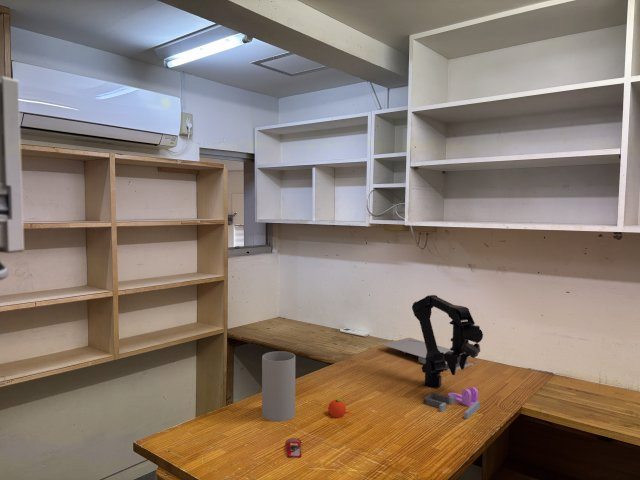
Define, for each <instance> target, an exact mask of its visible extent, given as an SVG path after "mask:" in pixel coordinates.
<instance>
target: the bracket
mask: <svg viewBox="0 0 640 480" xmlns="http://www.w3.org/2000/svg"><path fill="white" fill-rule="evenodd" d="M452 395H455V396H456V397H455V402H457V403H458V404H459V403H460V404H462V405H463V406H467V407H468V406H469V407H468V408H470V407H471V406H472V405H473V404H474V403H475V402H476V401H479V391H478V388H476V387H475V386H473V387H470V388H464V389H463V390H462V392H461V394H460V393H457V392H449V393H447V396H448V397H451V396H452Z"/></svg>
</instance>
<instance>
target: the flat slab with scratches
mask: <svg viewBox="0 0 640 480" xmlns="http://www.w3.org/2000/svg"><path fill="white" fill-rule="evenodd" d="M380 345H382V346H385V347H388V348H391V349H395V350H397V351H401V352H402V353H404V354H405V355H407V354H409V355H414V356H416V357H417V362H418V363H421V364H423V365H424V364H425V363H426V359H425V358H426V354H427V349H426V345H425V341H424V340H419V339H415V338H413V337H412V338H411V337H406V338H401V339H396V340H393V341H389V342H384V343H383V342H382V343H380ZM437 348H438V350H439V351H440V352H441V353H442V352H443V353H444V354H445V353H446V352H448V351H451V350H450V348H447V347H445V346H441V345H438V344H437ZM451 352H453V351H451ZM468 358H472V357H471V356H469V357H468ZM445 362H446V361H445ZM470 365H472V366H474V363H472V362H468V361H466V364H465V368H468V367H471V366H470ZM467 366H468V367H467ZM446 369H447V370H446ZM448 369H449V366H448V364H447V362H446V366H445V369H444V370H446V371H447V372H449V370H450V369H449V370H448ZM457 370H460V364H459V363H457V367H456V371H457Z"/></svg>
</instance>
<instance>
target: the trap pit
mask: <svg viewBox="0 0 640 480" xmlns="http://www.w3.org/2000/svg"><path fill="white" fill-rule="evenodd" d="M449 398H450V397H448V395H444V394H440V393H435V392H431V393H429V394H428V395H427V396H425V397H423V405H426V406H429V407H430V406H431V407H434V408H437V409H439V405H441V404H442V403H443V402H444V403H446V404H449ZM449 405H450V404H449Z"/></svg>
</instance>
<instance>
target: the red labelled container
mask: <svg viewBox="0 0 640 480" xmlns="http://www.w3.org/2000/svg"><path fill="white" fill-rule="evenodd" d="M284 444H285V449H286V451H285V452H286V457H287V459H288V458H289V459H301V457H302V456H303V452H302V444H303V442H302V441H301V439H300V438H296V437H292V438H288V439H287V440H286V441H285V443H284Z"/></svg>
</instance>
